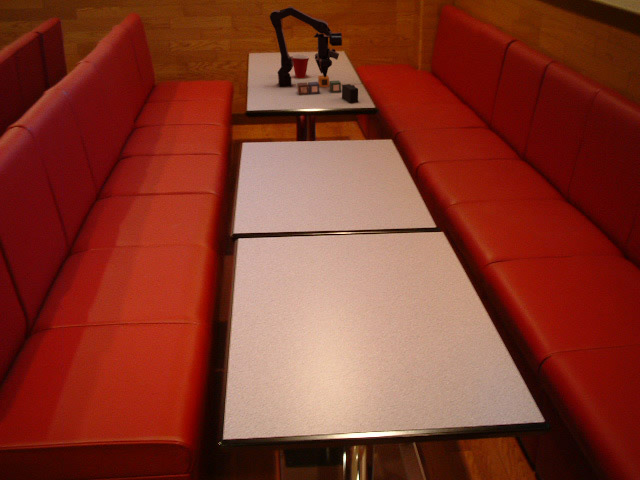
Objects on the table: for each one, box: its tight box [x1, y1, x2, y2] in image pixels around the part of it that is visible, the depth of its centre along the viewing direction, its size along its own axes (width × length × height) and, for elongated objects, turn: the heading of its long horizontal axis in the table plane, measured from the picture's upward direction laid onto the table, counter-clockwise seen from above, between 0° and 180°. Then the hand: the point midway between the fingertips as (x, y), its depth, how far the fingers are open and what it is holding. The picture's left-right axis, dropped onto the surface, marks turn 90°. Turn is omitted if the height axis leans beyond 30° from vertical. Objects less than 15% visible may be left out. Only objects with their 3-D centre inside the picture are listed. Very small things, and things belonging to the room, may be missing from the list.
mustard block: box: [317, 74, 330, 88], centre depth 348 cm, size 5×5×5 cm
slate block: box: [307, 81, 320, 95], centre depth 336 cm, size 5×5×5 cm
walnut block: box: [296, 82, 309, 96], centre depth 335 cm, size 5×5×5 cm
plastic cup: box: [291, 54, 310, 79], centre depth 365 cm, size 11×11×12 cm
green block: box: [329, 79, 342, 94], centre depth 338 cm, size 5×5×5 cm
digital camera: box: [341, 83, 359, 104], centre depth 321 cm, size 10×5×7 cm, turn 23°
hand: (323, 75), depth 347 cm, fingers open, 9 cm apart
